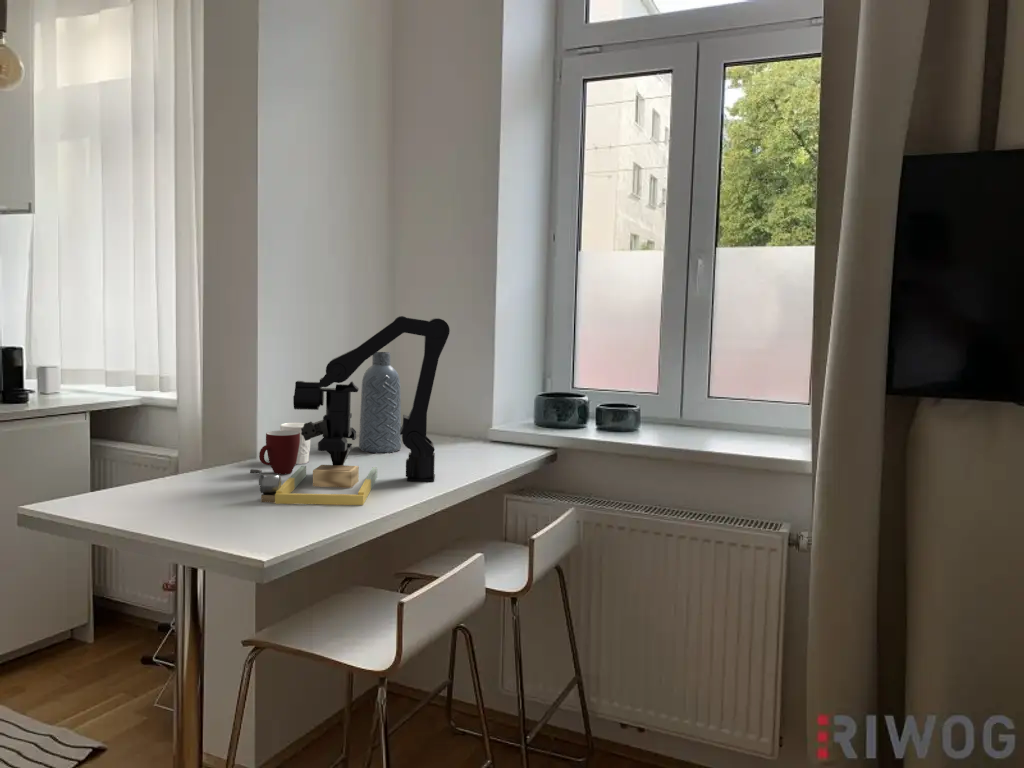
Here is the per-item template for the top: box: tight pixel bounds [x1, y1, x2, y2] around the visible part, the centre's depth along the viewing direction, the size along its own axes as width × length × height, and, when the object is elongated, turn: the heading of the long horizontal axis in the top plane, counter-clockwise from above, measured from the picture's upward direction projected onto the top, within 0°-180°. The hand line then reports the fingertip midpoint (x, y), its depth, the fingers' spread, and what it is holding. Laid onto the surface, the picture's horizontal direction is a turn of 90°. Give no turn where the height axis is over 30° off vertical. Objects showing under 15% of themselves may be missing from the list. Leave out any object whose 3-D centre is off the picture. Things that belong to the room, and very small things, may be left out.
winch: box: [249, 468, 282, 503], centre depth 177 cm, size 6×4×7 cm, turn 93°
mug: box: [258, 430, 300, 475], centre depth 203 cm, size 11×8×10 cm
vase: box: [358, 351, 402, 454], centre depth 239 cm, size 12×12×28 cm
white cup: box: [279, 422, 312, 465], centre depth 218 cm, size 8×8×10 cm
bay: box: [274, 465, 378, 506], centre depth 189 cm, size 18×28×2 cm, turn 3°
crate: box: [312, 464, 360, 489], centre depth 195 cm, size 9×7×4 cm
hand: (337, 474), depth 200 cm, fingers closed
